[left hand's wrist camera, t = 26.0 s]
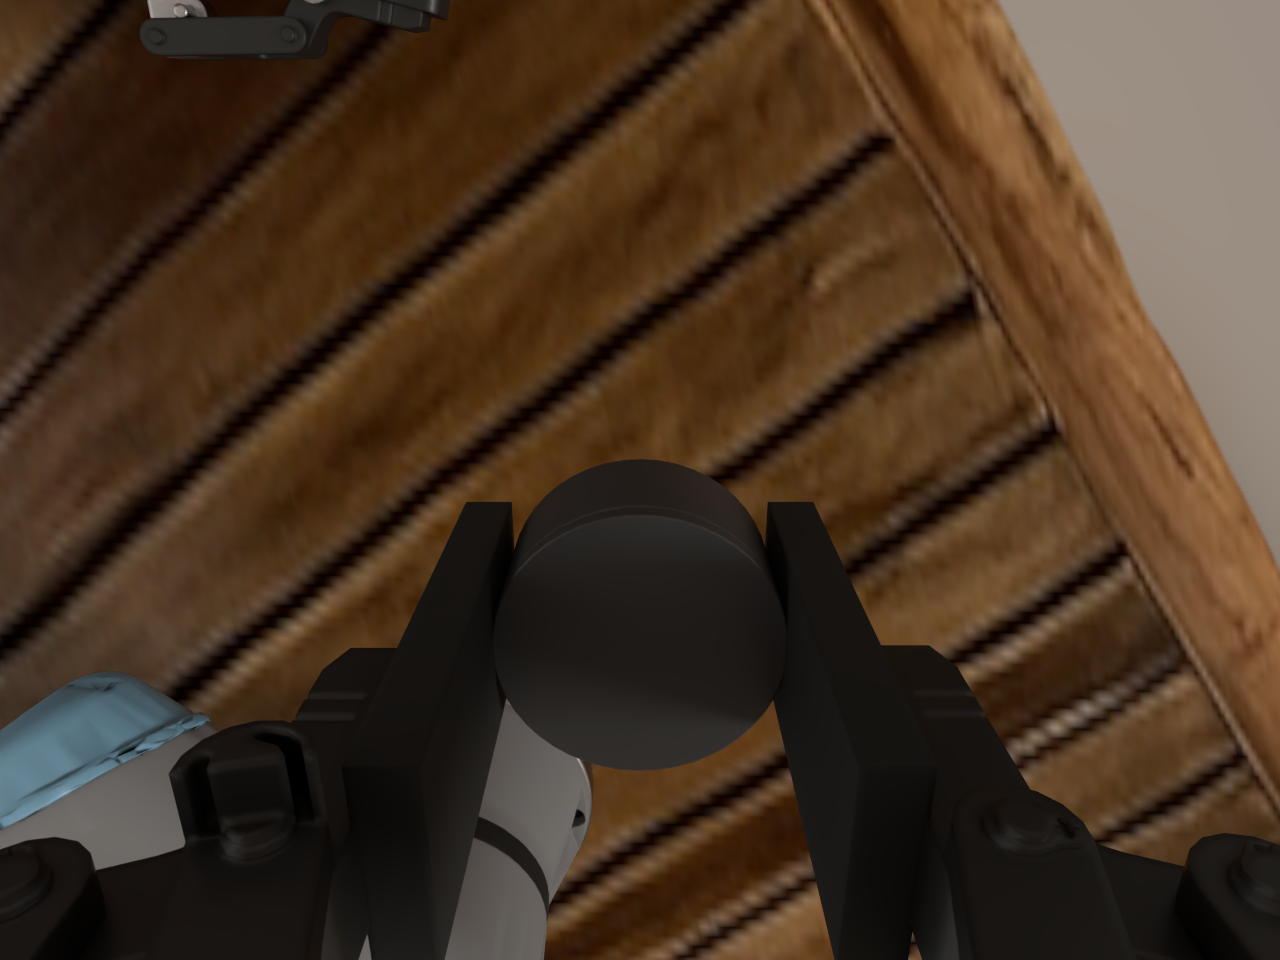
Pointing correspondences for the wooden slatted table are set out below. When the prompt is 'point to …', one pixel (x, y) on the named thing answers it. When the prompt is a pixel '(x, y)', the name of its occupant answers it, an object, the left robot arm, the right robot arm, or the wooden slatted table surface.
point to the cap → (640, 618)
